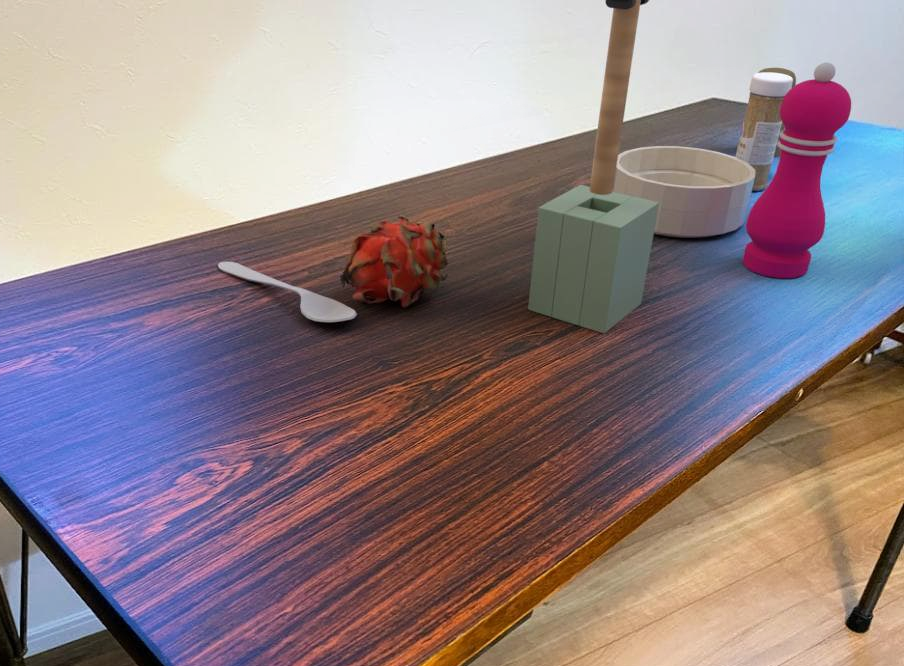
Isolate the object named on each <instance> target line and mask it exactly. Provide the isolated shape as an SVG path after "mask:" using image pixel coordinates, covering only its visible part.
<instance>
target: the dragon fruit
mask: <svg viewBox="0 0 904 666" xmlns="http://www.w3.org/2000/svg"><path fill="white" fill-rule="evenodd" d="M397 218H398V219H399V221H398V222H397V223H390V222H389V221H387V220H383V221H377V222H376V223H374V224H373V225H372V226H371V229H370V231H369V232H365V233H362V234H360V235H357V236H356V237H355V238H353V240H352V244H351V247H350V248H351V250H350V254H349V257H348V259H347V261H346V264H345V268H344V270H343V271H342V274H341V275H340V277H339V278H340V284H341V286H342V288H344V287H345V286H346V284H347V285H351V286H352V287H353V288H356V289H358V290H356V291H355V292H354V293H352V295H351V297H352V299H353V300H354V301H356V302H357V304H359V303H366V304H369V305H371V304H379V303H383V302H385V301H387V300H388V301H389V300H390V301H392V302H397V301H398V300H400V304H401V307H402V308H407V307H408V306H410V305H411V304H413V303H415V301H417V300H418V299H419V297H421V296H422V295H423V294H424V290H423V289H424V288H425V289H426V290H427V291H432V290H435V289H439V288H440V287H441V283H442V282H444V281H446V280H447V278H448V273H447V274H446V275H445V276H443V275H441V274H440V271H441V270H443V269H445V268H446V267H447V266H448V265H449V264H448V259H447V256H446V252H448V251H449V248H448V242H447V240H448V237H447V235H446V236H445V235H444V234H443V233H441V232H440V231H439V230H435V226H436V225H435V224H434V223H432V222H426V221H423V222H422V223H418V222H414V223H413V222H411V221H409V219H408V218H407V217H406V216H405V215H403V214H400V215H399V216H397Z"/></svg>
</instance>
